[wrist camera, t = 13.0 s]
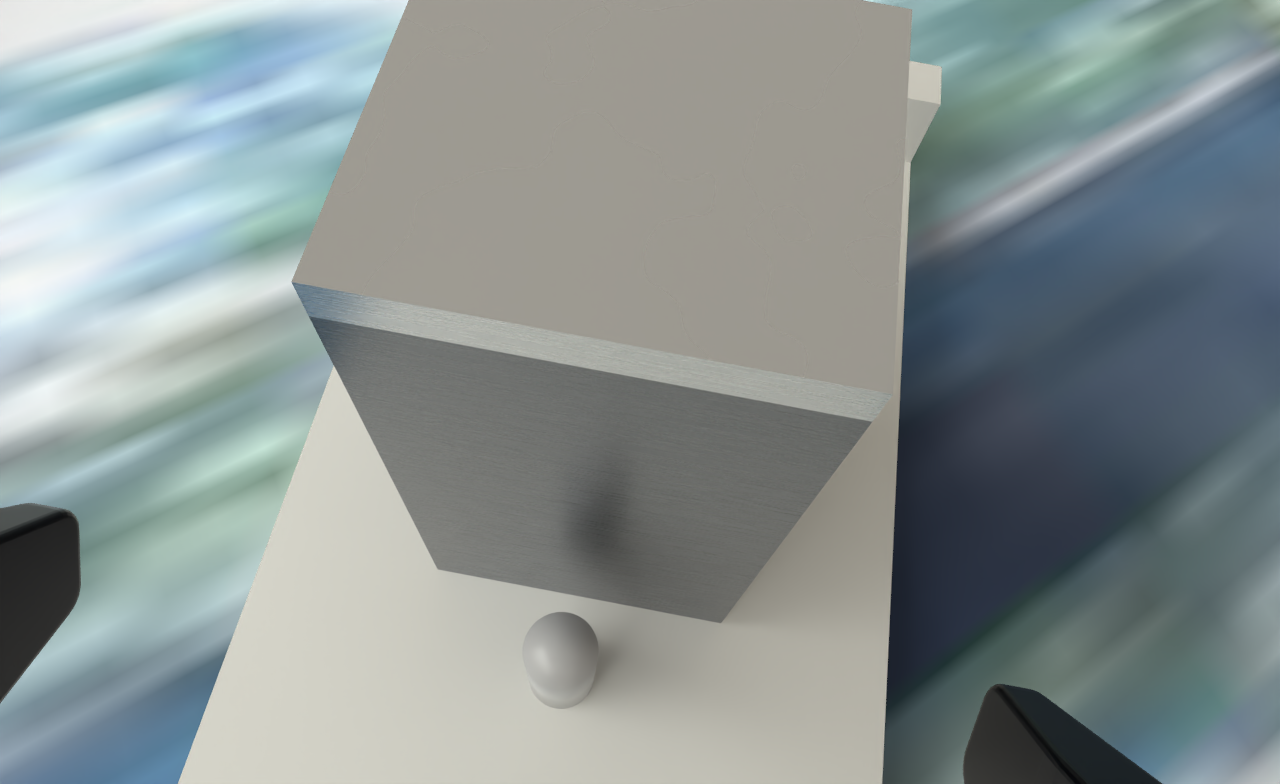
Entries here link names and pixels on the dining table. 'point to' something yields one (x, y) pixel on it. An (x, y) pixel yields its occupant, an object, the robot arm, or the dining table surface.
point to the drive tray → (554, 640)
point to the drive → (619, 280)
